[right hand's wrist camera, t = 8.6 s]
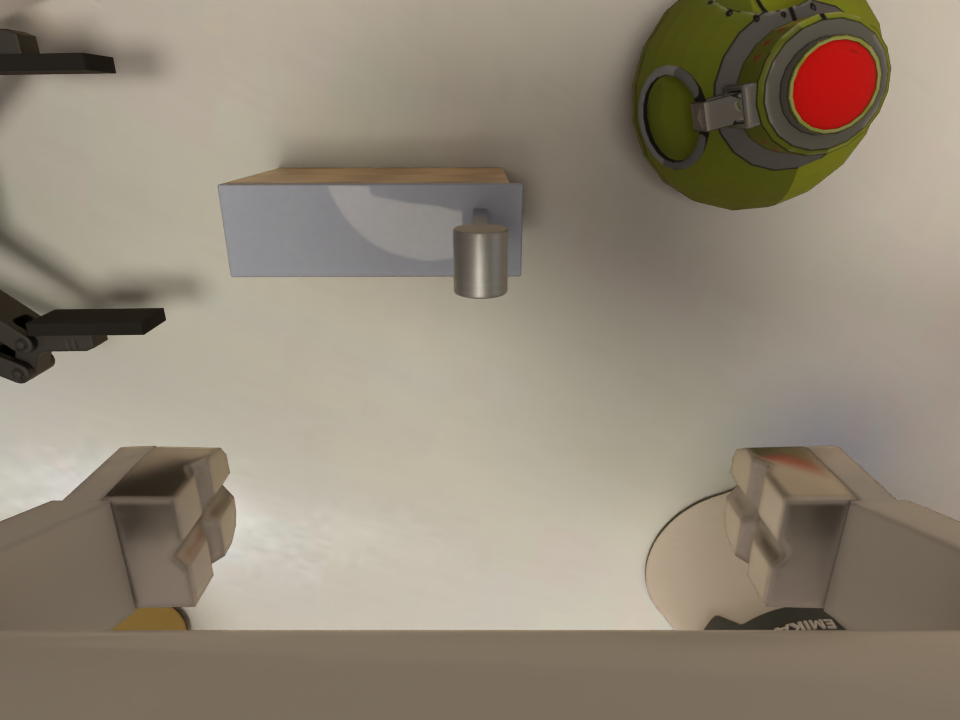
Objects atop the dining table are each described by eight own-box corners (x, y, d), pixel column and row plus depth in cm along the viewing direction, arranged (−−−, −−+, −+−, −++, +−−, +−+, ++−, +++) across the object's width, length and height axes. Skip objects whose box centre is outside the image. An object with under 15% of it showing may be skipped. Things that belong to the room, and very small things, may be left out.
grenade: (802, -44, 36) (1008, -144, 22) (815, 168, 40) (995, 199, 26) (591, 16, 37) (659, -42, 23) (625, 217, 41) (701, 271, 27)
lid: (522, 182, 32) (536, 205, 24) (520, 272, 33) (533, 323, 25) (223, 182, 32) (137, 206, 24) (236, 273, 33) (160, 324, 25)
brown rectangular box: (503, 167, 40) (510, 182, 32) (502, 240, 42) (508, 272, 33) (277, 167, 40) (223, 182, 32) (285, 240, 42) (236, 273, 33)
